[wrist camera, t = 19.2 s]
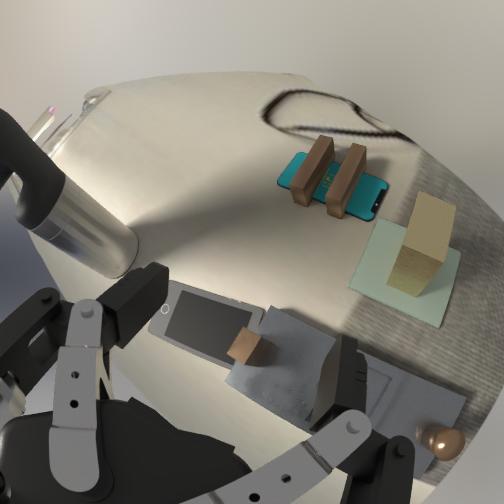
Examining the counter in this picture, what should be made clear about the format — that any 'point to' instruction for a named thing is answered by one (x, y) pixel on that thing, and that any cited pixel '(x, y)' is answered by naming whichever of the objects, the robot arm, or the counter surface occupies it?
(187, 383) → the counter surface
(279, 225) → the counter surface
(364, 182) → the smartphone
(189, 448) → the robot arm
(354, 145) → the phone stand
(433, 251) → the brushed brass block
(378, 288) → the pad
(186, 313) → the smartphone
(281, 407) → the grey slotted base
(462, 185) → the counter surface
